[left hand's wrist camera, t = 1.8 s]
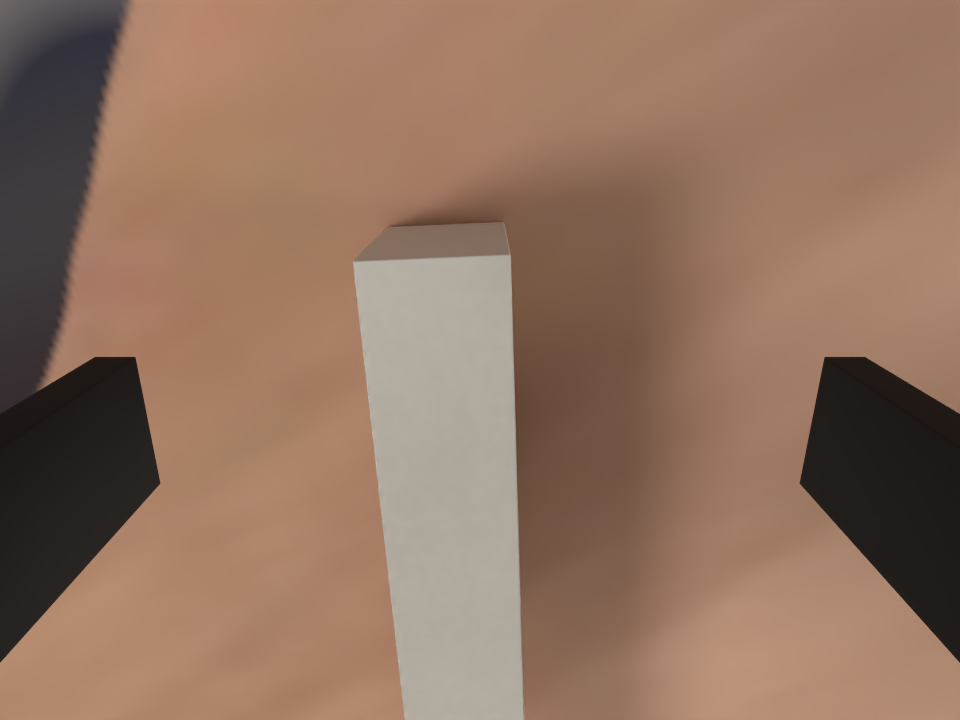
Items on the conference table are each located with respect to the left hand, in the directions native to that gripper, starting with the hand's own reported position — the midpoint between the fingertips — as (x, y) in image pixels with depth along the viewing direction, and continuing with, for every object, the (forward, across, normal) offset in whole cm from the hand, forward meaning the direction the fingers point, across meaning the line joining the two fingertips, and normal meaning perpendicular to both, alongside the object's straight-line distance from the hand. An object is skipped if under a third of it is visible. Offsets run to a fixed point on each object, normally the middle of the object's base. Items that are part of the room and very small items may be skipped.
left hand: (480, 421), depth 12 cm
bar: (+16, 0, -30) cm, 34 cm away
